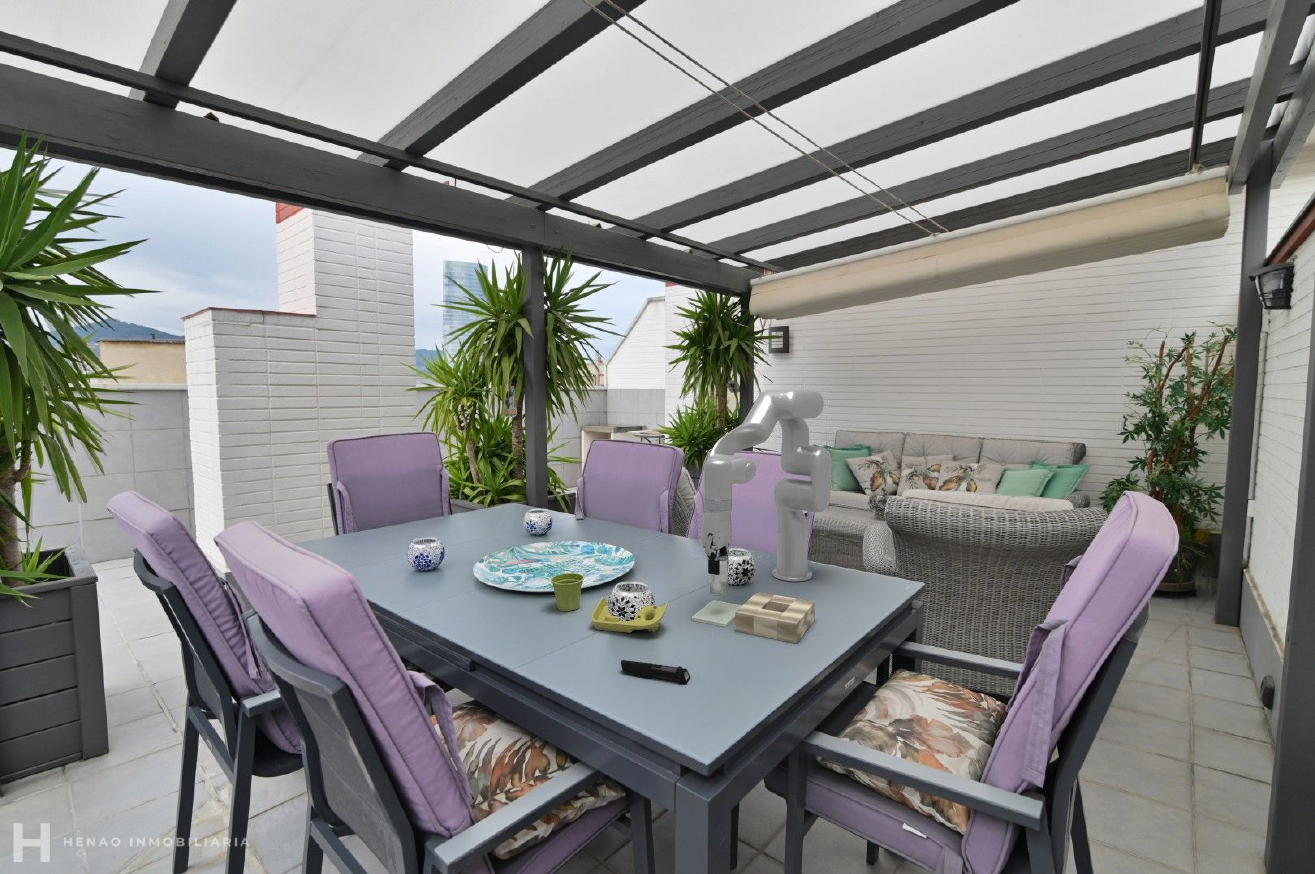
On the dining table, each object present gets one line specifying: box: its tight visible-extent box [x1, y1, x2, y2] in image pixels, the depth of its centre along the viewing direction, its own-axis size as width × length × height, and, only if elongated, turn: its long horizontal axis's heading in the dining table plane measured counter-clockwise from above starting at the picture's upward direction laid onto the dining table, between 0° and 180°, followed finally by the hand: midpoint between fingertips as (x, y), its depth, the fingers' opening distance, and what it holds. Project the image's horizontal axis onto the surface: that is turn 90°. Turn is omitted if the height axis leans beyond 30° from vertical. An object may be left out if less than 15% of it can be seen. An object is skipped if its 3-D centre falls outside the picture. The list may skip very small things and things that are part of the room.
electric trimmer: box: [620, 659, 691, 685], centre depth 131 cm, size 4×16×3 cm, turn 70°
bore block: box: [734, 591, 816, 644], centre depth 156 cm, size 16×16×5 cm
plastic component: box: [590, 597, 669, 634], centre depth 157 cm, size 20×7×10 cm
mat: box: [690, 599, 743, 628], centre depth 164 cm, size 14×10×1 cm
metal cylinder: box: [708, 553, 729, 596], centre depth 163 cm, size 5×5×10 cm
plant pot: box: [550, 572, 585, 612], centre depth 171 cm, size 9×9×9 cm
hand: (718, 570), depth 163 cm, fingers closed on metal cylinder, 5 cm apart
